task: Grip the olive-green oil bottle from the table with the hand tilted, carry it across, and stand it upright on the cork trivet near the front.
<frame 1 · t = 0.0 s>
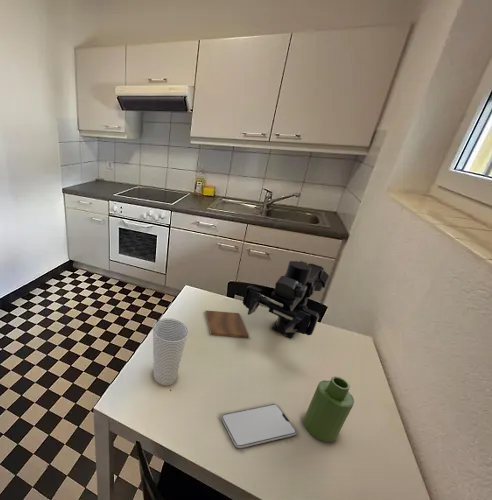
hand: (265, 321, 70), 17 cm above the table, tool horizontal, fingers open, 9 cm apart
oil bottle: (319, 427, 63), on the table
smartphone: (257, 426, 62), on the table
trivet: (225, 324, 95), on the table
cup: (164, 377, 73), on the table
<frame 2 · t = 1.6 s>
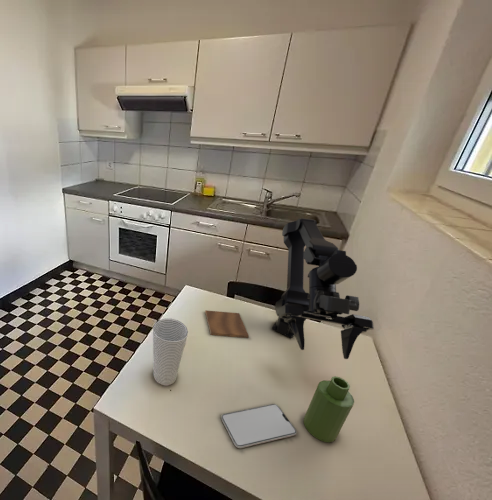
hand: (323, 354, 64), 14 cm above the table, tool tilted 45°, fingers open, 9 cm apart
nothing on the table moved.
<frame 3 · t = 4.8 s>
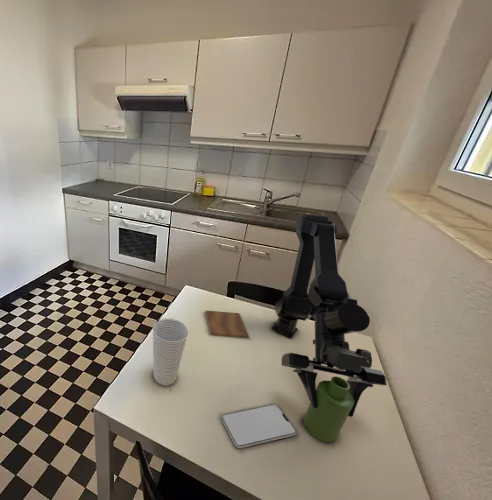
hand: (331, 412, 59), 7 cm above the table, tool tilted 45°, fingers closed on oil bottle, 6 cm apart
oil bottle: (319, 427, 63), on the table, touching gripper
everything else where it was.
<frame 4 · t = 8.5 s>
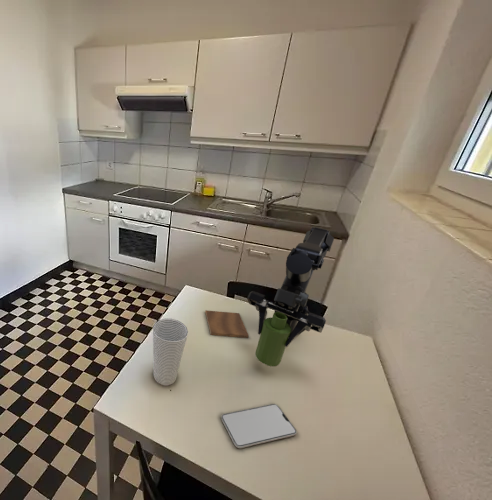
hand: (272, 340, 73), 11 cm above the table, tool tilted 45°, fingers closed on oil bottle, 6 cm apart
oil bottle: (267, 357, 77), point 4 cm above the table, touching gripper
everything else where it was.
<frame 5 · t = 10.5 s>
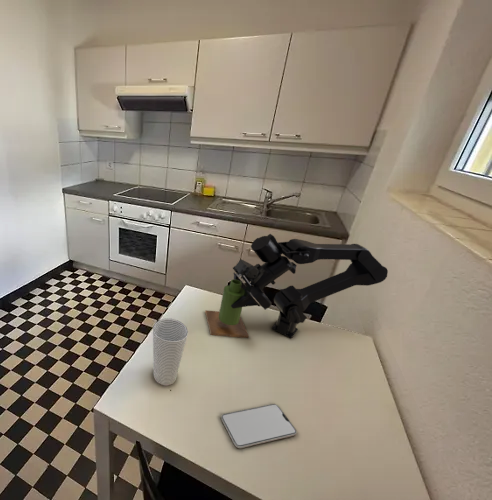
hand: (228, 300, 89), 11 cm above the table, tool tilted 45°, fingers closed on oil bottle, 6 cm apart
oil bottle: (228, 319, 91), point 4 cm above the table, touching gripper
everything else where it was.
when the fingers open (8 cm above the table, at t = 12.4 s): oil bottle stays where it is, resting on trivet.
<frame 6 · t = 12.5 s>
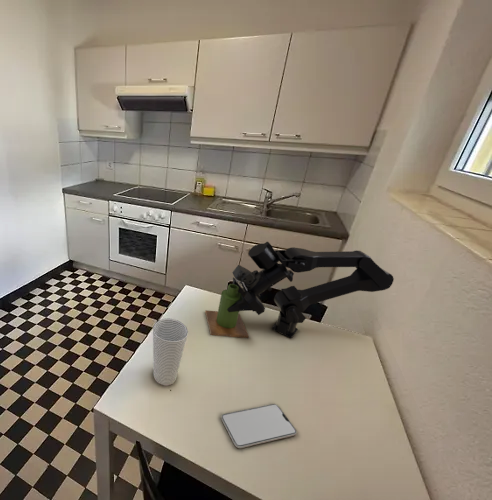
hand: (225, 304, 92), 8 cm above the table, tool tilted 45°, fingers open, 7 cm apart
oil bottle: (226, 322, 94), point 1 cm above the table, touching trivet
everything else where it was.
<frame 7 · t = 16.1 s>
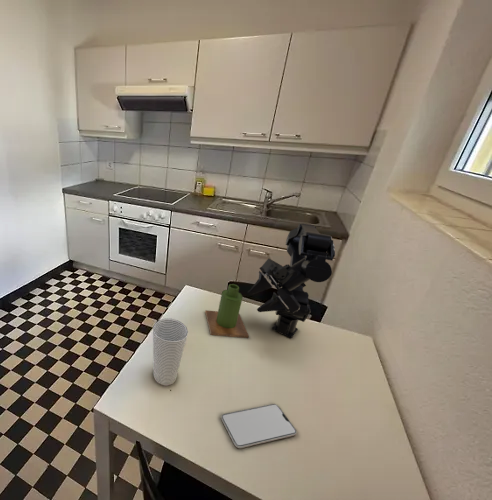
hand: (253, 301, 84), 13 cm above the table, tool tilted 45°, fingers open, 9 cm apart
nothing on the table moved.
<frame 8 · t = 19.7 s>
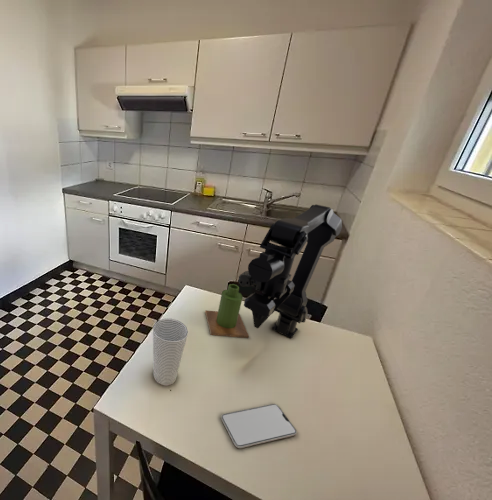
hand: (263, 320, 77), 13 cm above the table, tool pointing down, fingers open, 9 cm apart
nothing on the table moved.
at the end: oil bottle inside the target area on the trivet (0.1 cm from its centre), point 1.0 cm above the trivet's base; oil bottle tilted 0°; the gripper is holding nothing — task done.
